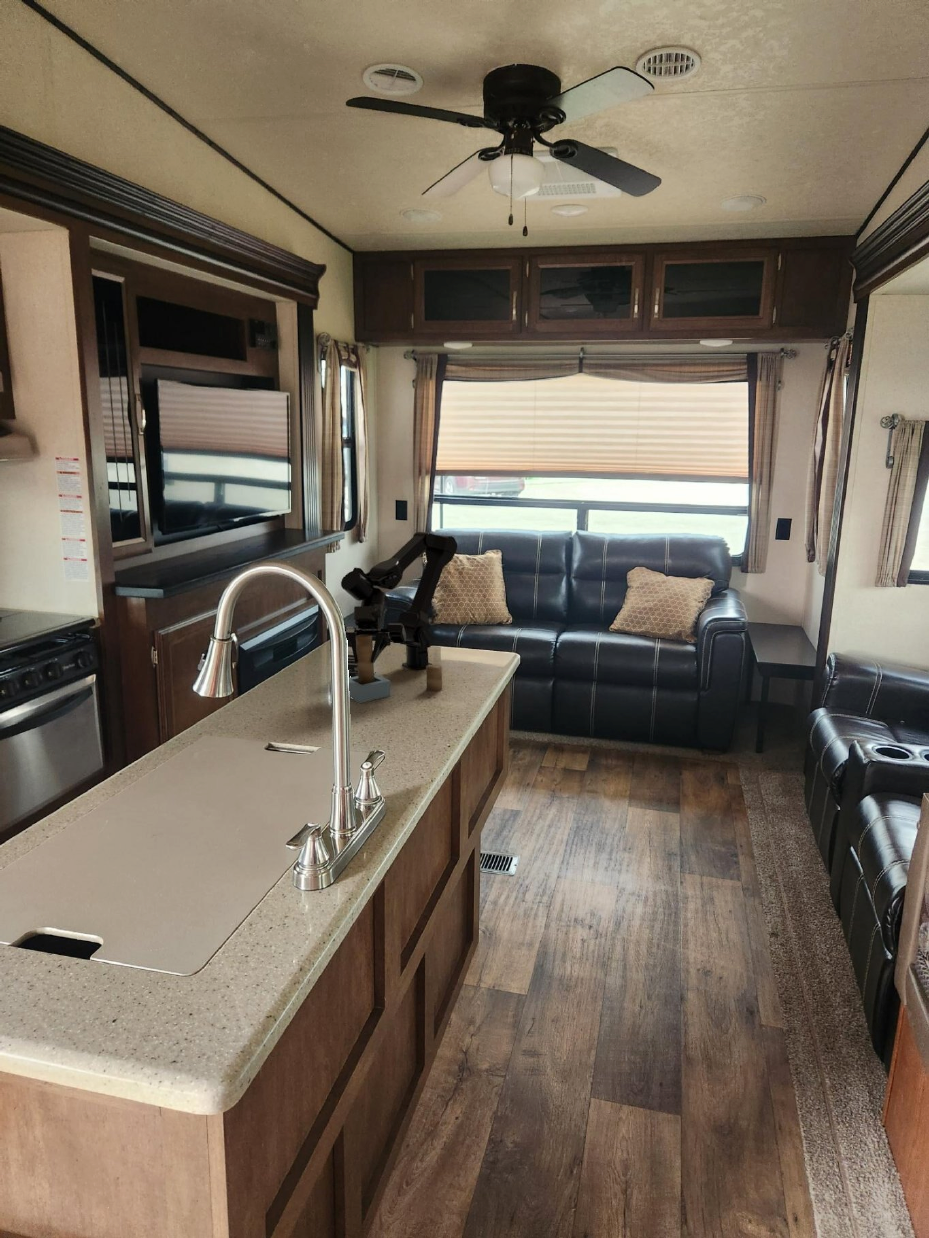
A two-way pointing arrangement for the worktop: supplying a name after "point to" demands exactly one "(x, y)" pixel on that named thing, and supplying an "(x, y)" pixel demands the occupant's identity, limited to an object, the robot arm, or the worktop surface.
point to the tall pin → (365, 659)
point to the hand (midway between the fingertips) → (364, 662)
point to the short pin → (434, 677)
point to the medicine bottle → (352, 665)
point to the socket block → (369, 689)
